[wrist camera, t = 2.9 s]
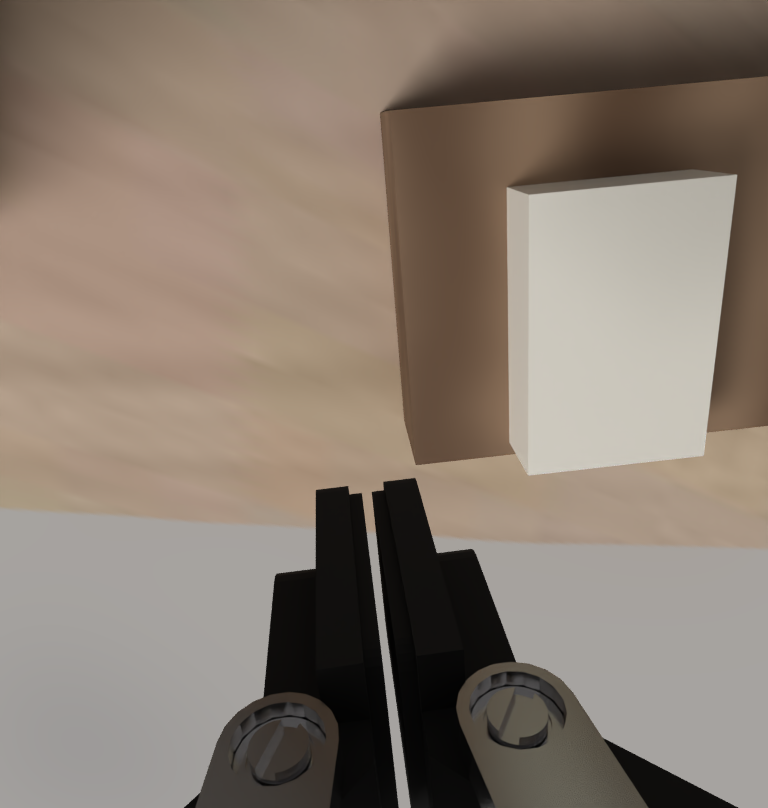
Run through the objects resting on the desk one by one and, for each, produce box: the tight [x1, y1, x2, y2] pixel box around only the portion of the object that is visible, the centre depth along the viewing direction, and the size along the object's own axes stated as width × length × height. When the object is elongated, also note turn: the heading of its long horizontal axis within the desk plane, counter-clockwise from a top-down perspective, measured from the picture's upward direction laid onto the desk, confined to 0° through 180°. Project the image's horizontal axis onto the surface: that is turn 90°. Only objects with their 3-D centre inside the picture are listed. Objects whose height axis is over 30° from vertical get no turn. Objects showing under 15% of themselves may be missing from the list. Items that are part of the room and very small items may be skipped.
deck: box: [380, 76, 768, 465], centre depth 24 cm, size 16×12×4 cm
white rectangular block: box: [507, 169, 737, 476], centre depth 22 cm, size 6×9×2 cm, turn 5°
